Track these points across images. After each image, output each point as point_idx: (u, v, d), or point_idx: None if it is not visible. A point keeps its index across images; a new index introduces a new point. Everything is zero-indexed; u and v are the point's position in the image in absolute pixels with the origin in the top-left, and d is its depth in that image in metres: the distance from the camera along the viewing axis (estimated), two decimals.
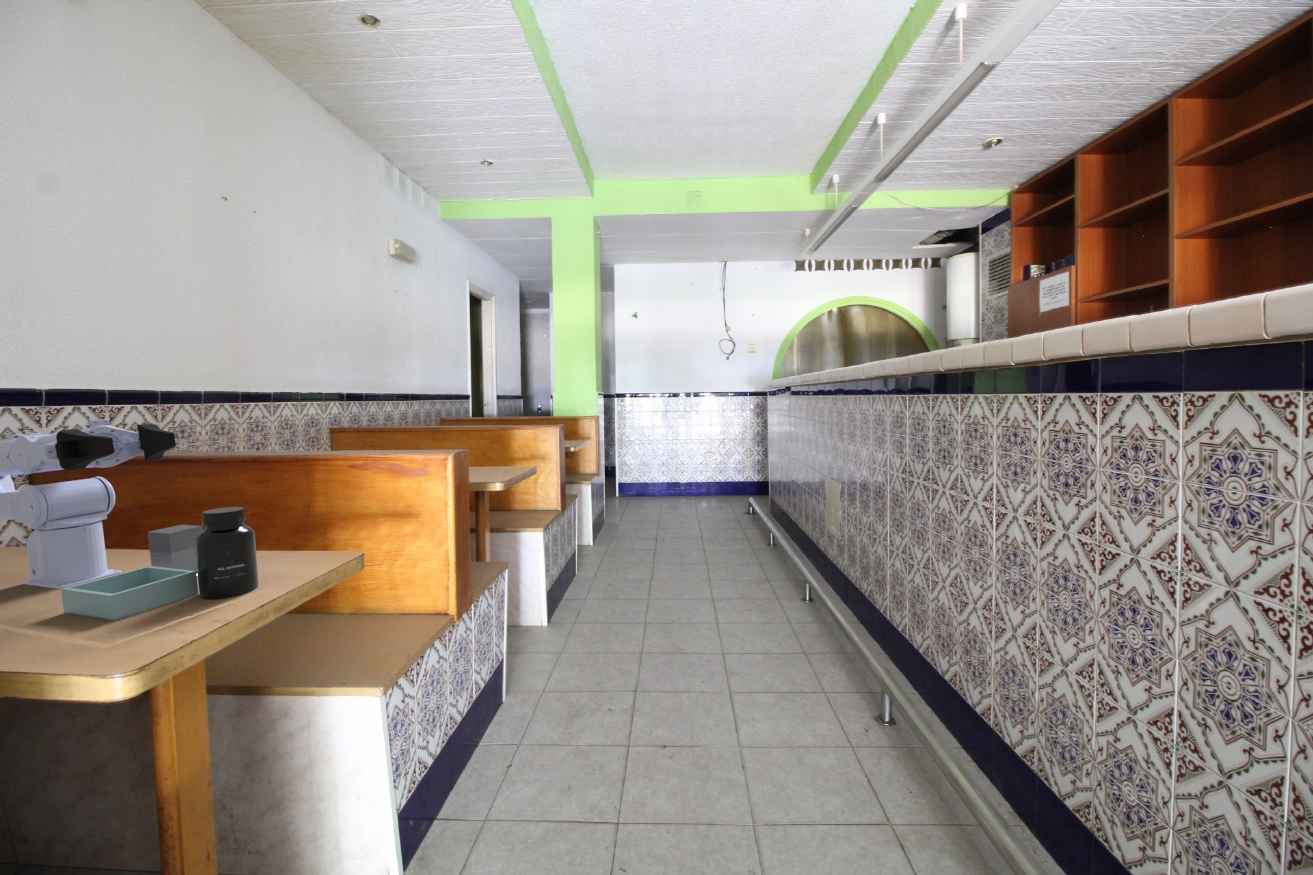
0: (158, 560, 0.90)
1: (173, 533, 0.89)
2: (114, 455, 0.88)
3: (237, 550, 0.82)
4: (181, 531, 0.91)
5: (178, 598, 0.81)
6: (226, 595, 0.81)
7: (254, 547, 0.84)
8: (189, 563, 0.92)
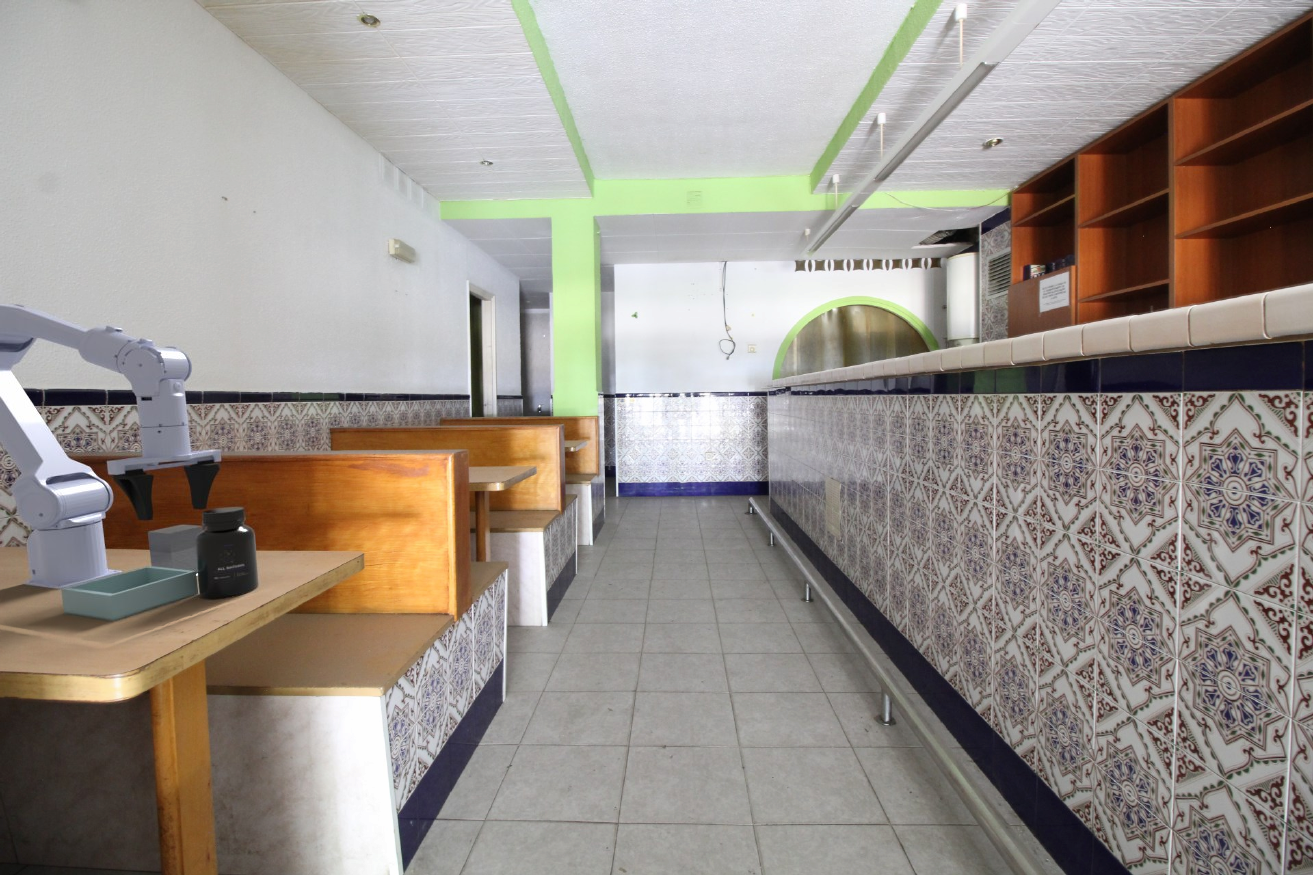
0: (158, 560, 0.90)
1: (173, 533, 0.89)
2: None
3: (237, 550, 0.82)
4: (181, 531, 0.91)
5: (178, 598, 0.81)
6: (226, 595, 0.81)
7: (254, 547, 0.84)
8: (189, 563, 0.92)
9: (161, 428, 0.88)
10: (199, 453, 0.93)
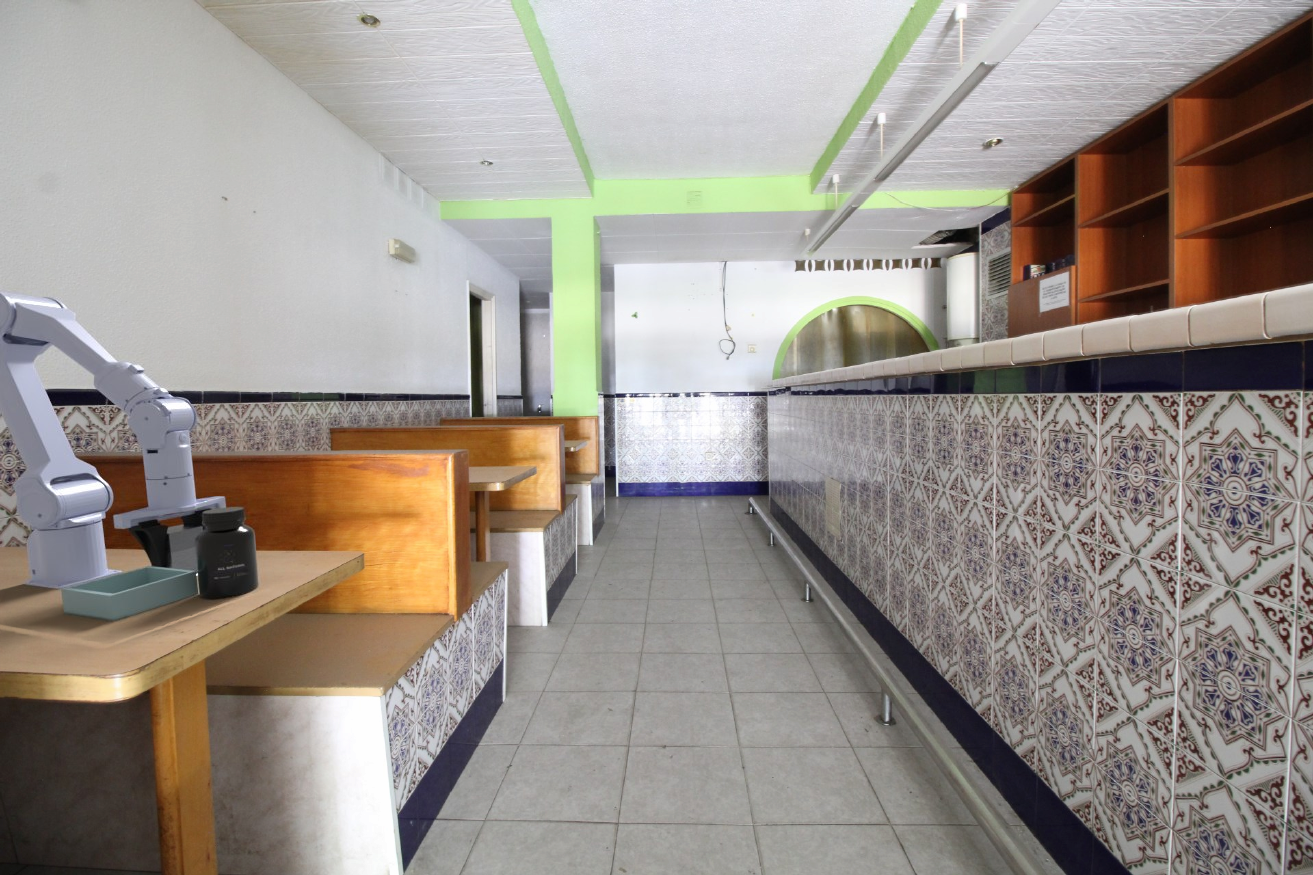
0: None
1: (173, 533, 0.89)
2: None
3: (237, 550, 0.82)
4: (181, 531, 0.91)
5: (178, 598, 0.81)
6: (226, 595, 0.81)
7: (254, 547, 0.84)
8: (189, 563, 0.92)
9: (167, 480, 0.89)
10: (204, 502, 0.94)
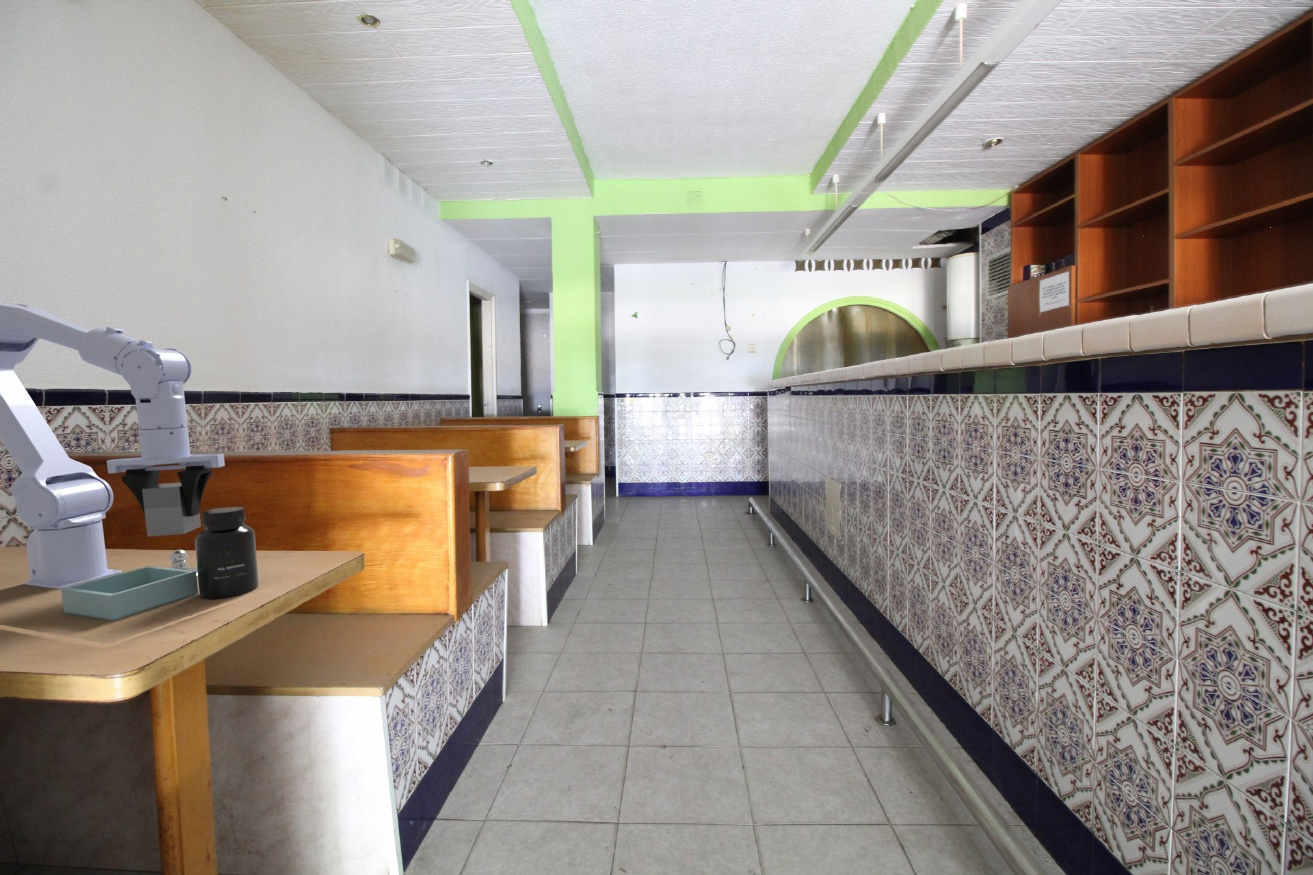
0: None
1: (147, 489, 0.88)
2: None
3: (237, 550, 0.82)
4: (156, 488, 0.89)
5: (178, 598, 0.81)
6: (226, 595, 0.81)
7: (254, 547, 0.84)
8: (163, 522, 0.89)
9: (141, 431, 0.88)
10: (184, 458, 0.89)
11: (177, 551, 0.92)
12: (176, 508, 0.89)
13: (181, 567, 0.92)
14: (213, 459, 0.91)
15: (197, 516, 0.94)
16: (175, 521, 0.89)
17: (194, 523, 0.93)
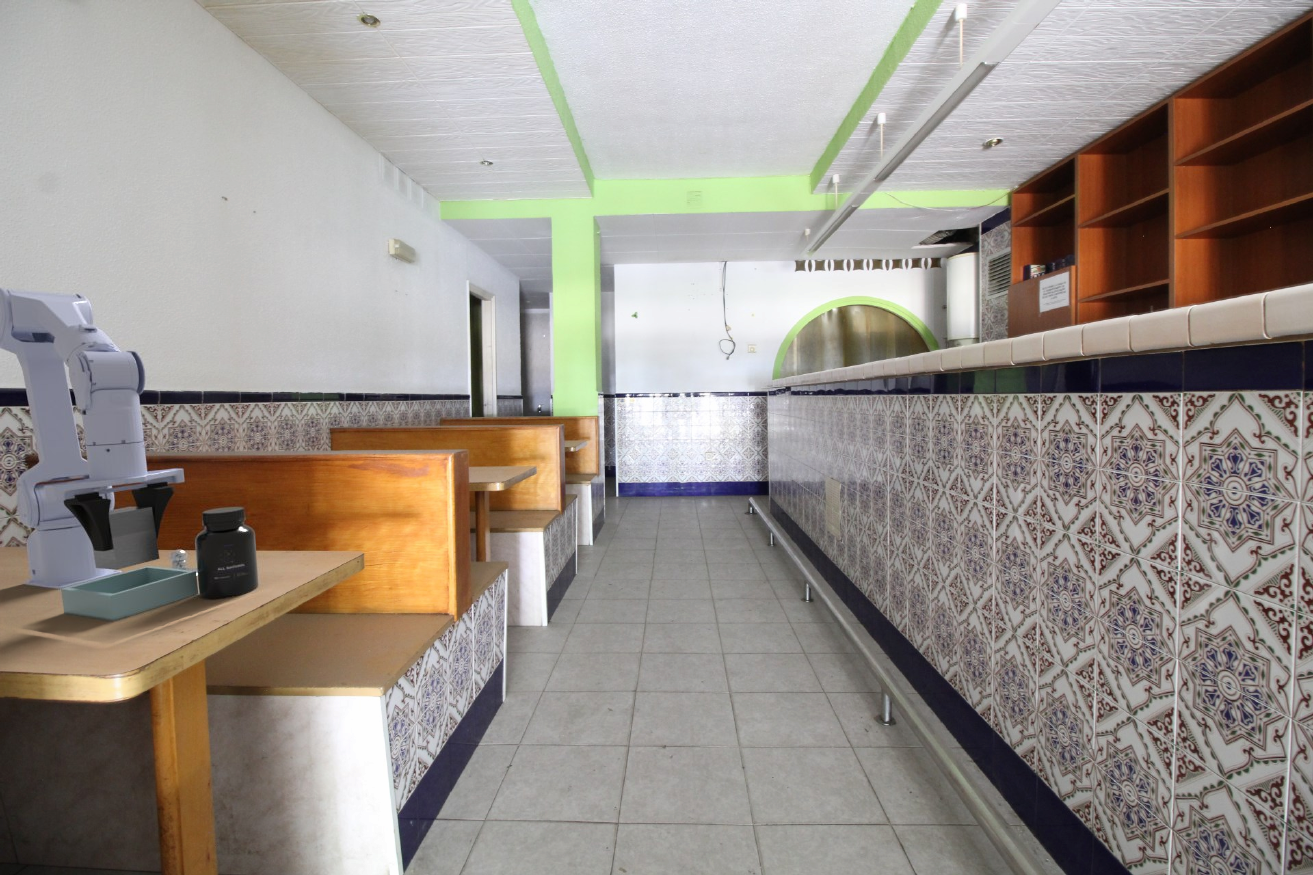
0: None
1: (114, 514, 0.77)
2: None
3: (237, 550, 0.82)
4: (124, 512, 0.78)
5: (178, 598, 0.81)
6: (226, 595, 0.81)
7: (254, 547, 0.84)
8: (136, 549, 0.79)
9: (110, 446, 0.76)
10: (157, 474, 0.81)
11: (177, 551, 0.92)
12: (149, 532, 0.80)
13: (181, 567, 0.92)
14: (179, 473, 0.85)
15: None
16: (149, 546, 0.80)
17: None
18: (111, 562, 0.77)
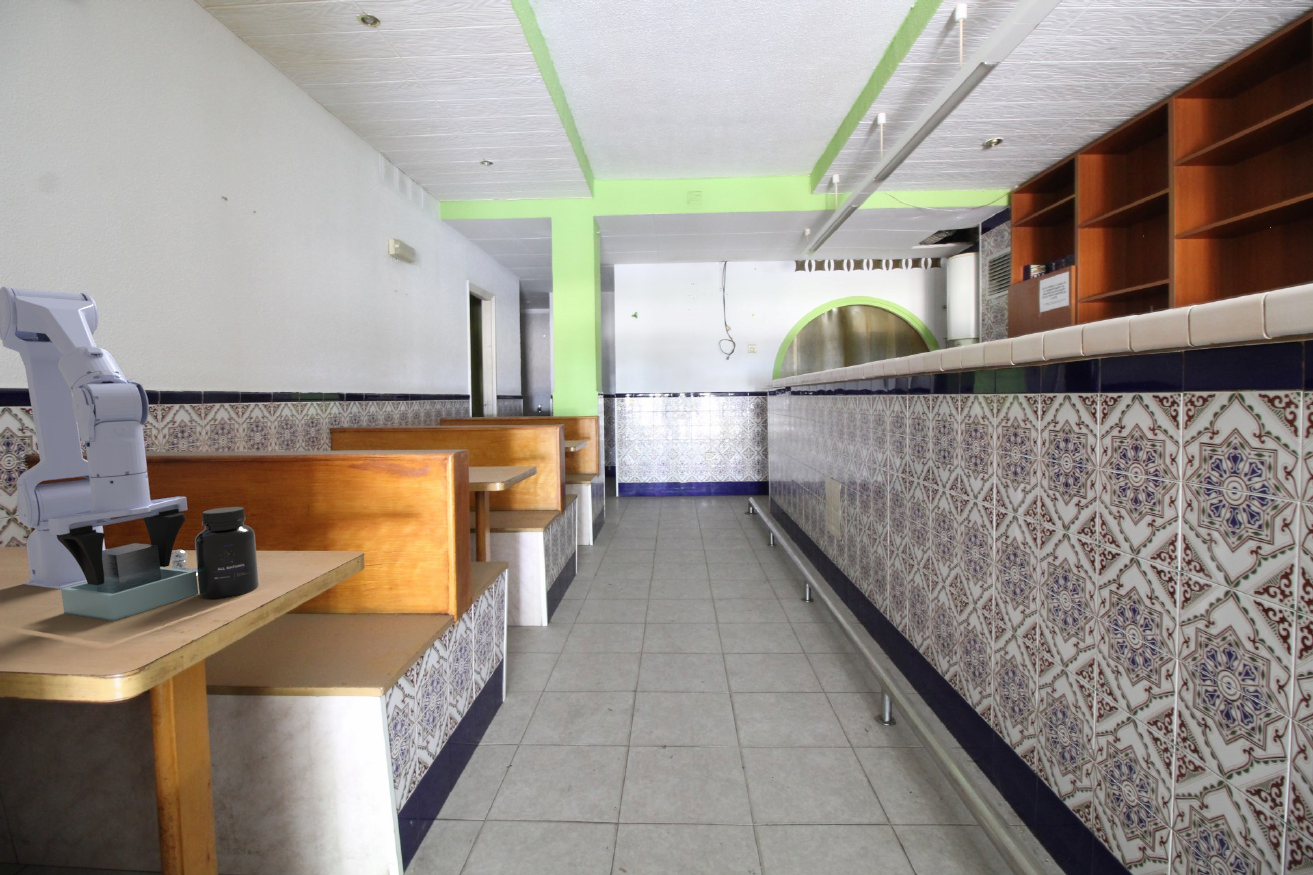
0: (105, 586, 0.78)
1: (122, 554, 0.77)
2: None
3: (237, 550, 0.82)
4: (131, 552, 0.78)
5: (178, 598, 0.81)
6: (226, 595, 0.81)
7: (254, 547, 0.84)
8: None
9: (114, 478, 0.76)
10: (160, 503, 0.81)
11: (177, 551, 0.92)
12: (154, 570, 0.81)
13: (181, 567, 0.92)
14: (182, 502, 0.85)
15: None
16: None
17: None
18: None
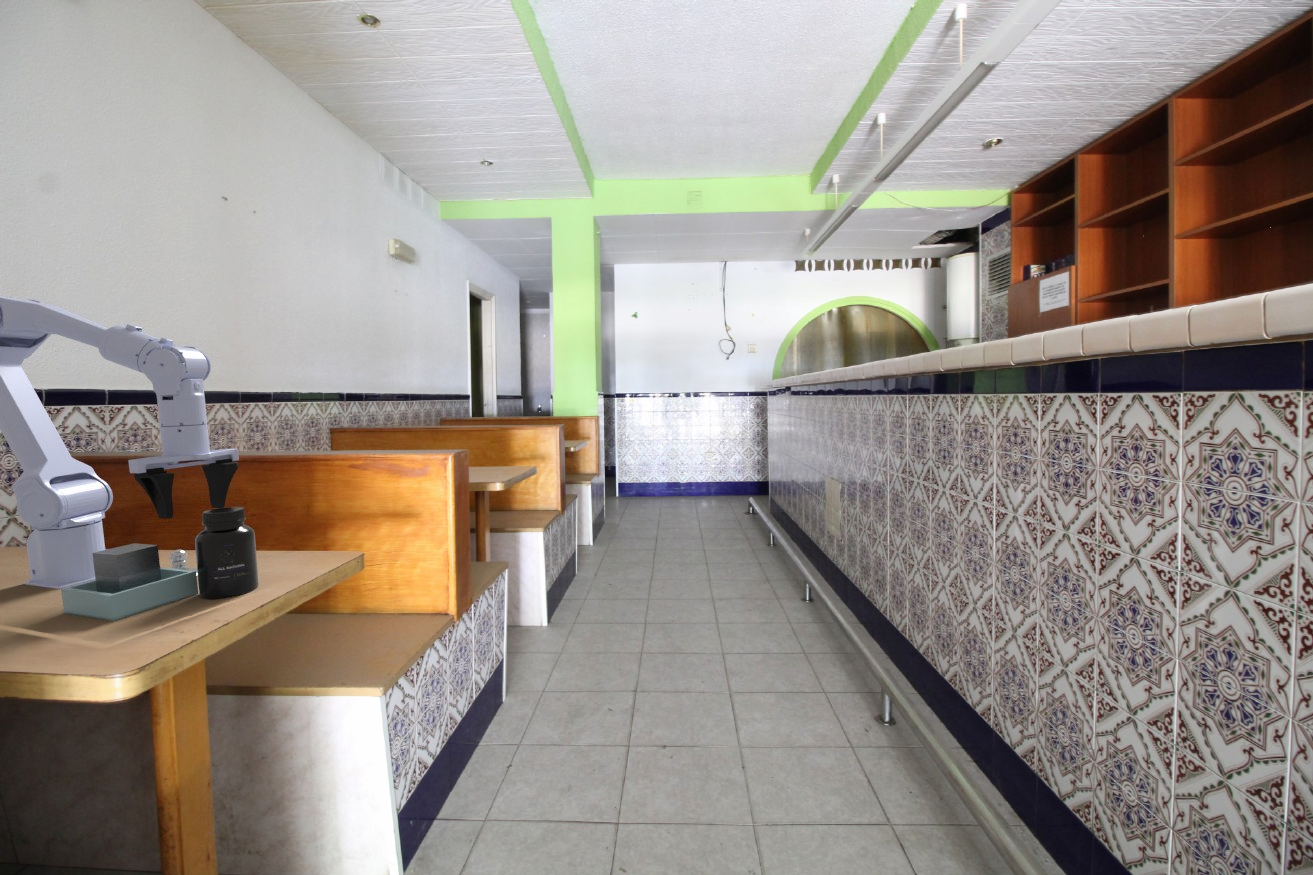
0: (105, 586, 0.78)
1: (122, 554, 0.77)
2: None
3: (237, 550, 0.82)
4: (131, 552, 0.78)
5: (178, 598, 0.81)
6: (226, 595, 0.81)
7: (254, 547, 0.84)
8: None
9: (181, 427, 0.89)
10: (218, 452, 0.94)
11: (177, 551, 0.92)
12: (154, 570, 0.81)
13: (181, 567, 0.92)
14: (235, 452, 0.98)
15: None
16: None
17: None
18: None
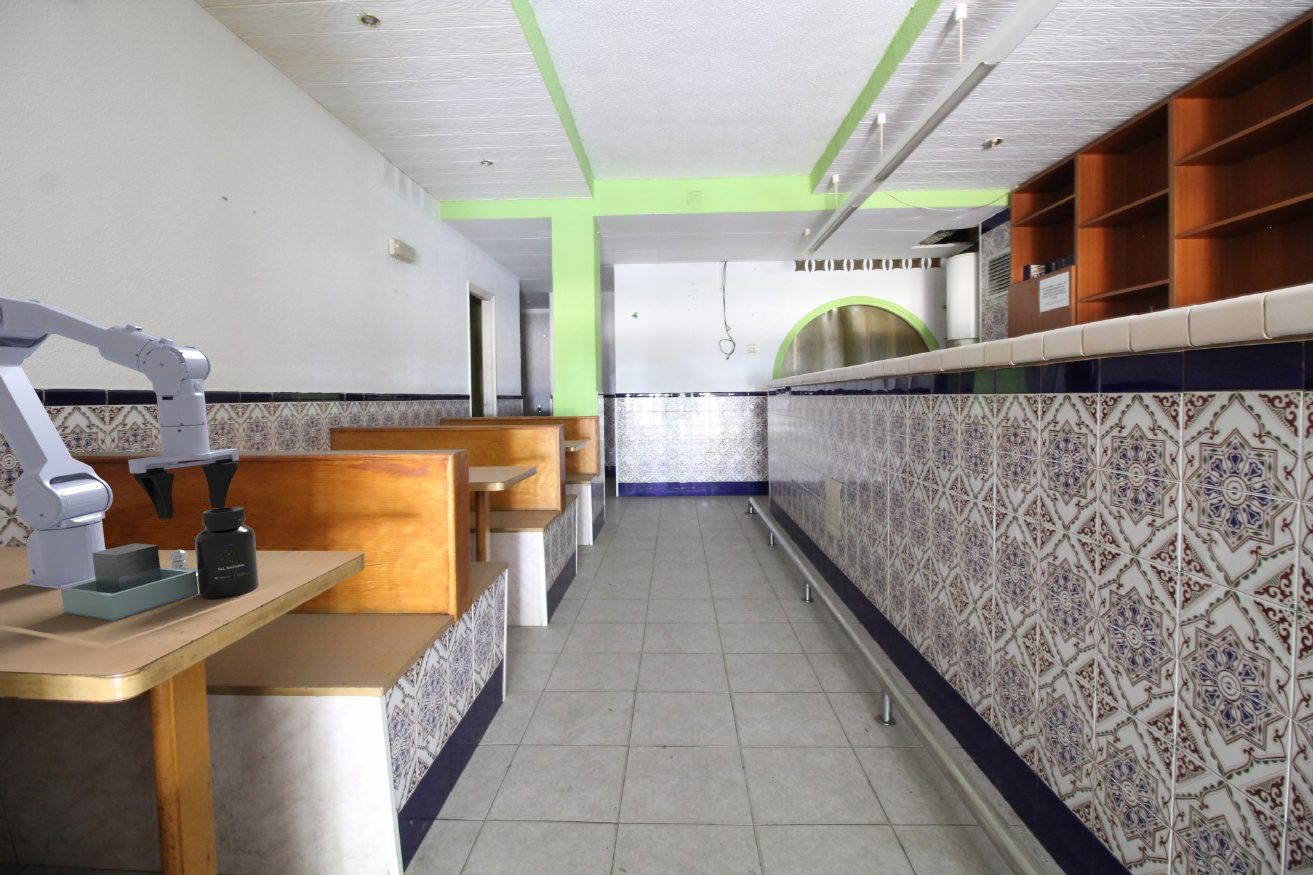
0: (105, 586, 0.78)
1: (122, 554, 0.77)
2: None
3: (237, 550, 0.82)
4: (131, 552, 0.78)
5: (178, 598, 0.81)
6: (226, 595, 0.81)
7: (254, 547, 0.84)
8: None
9: (181, 427, 0.89)
10: (218, 452, 0.94)
11: (177, 551, 0.92)
12: (154, 570, 0.81)
13: (181, 567, 0.92)
14: (235, 452, 0.98)
15: None
16: None
17: None
18: None
